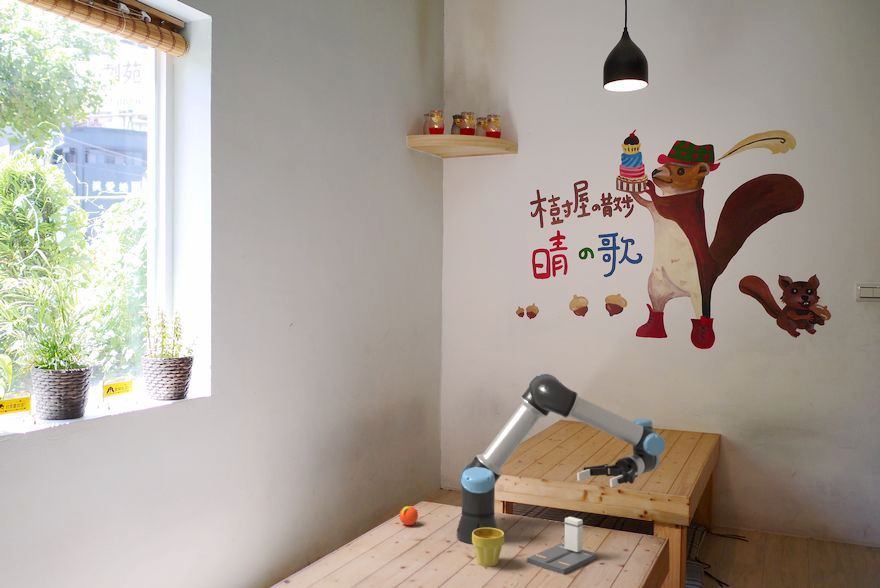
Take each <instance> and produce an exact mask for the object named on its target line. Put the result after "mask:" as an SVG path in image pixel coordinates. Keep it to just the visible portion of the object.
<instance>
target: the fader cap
mask: <svg viewBox="0 0 880 588" xmlns="http://www.w3.org/2000/svg"><path fill="white" fill-rule="evenodd" d="M583 522H584V521H583V519H581V518H578V517H574V516H568V517H567V516H566V517H565V518H564V544H565V549H568V550H572V551H575V552H579V551H581V550H583V526H584V524H583Z"/></svg>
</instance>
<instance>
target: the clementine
mask: <svg viewBox="0 0 880 588" xmlns="http://www.w3.org/2000/svg"><path fill="white" fill-rule="evenodd" d="M418 518H419V513H418V510H417V509H416V508H415V507H414V506H412V505H406V506H404V507H403V508H402V509H401V510H400V511H399V520H400V522H401V523H402V524H403V525H405V526H412V525H414V524H415V523H416V522H417V521H418Z"/></svg>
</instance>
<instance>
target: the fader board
mask: <svg viewBox="0 0 880 588" xmlns="http://www.w3.org/2000/svg"><path fill="white" fill-rule="evenodd" d="M597 556H598V555H597V553H596V552H592V551H590V550H589V551H588V550H585V549H582V550H581V551H579V552H575V551H572V550H568V549H565V543H562V542H560V543H558V544H556V545H554V546H552V547H549V548H547V549H544V550H542V551H540V552H538V553H535V554H533V555H530V556H528V557H527V558H526V559H527V560H526V563H527V564H531V565H535V566H537V567H540V568H543V569H547V570H548V571H553V572H556V573H559V574H561V575H565V574H567V573H569V572H572V571H573V570H575V569H578V568H580V567H581V566H584V565H586V564H588V563H589V562H592V561H594V560H596V559H597Z"/></svg>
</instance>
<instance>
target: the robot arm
mask: <svg viewBox="0 0 880 588" xmlns="http://www.w3.org/2000/svg"><path fill="white" fill-rule="evenodd" d="M520 399H521V404H520V405H519V406H518V407H517V409H515V411H514V413H513V414H512V415H511V417H510V418H509V419H508V420H507V422H506V423H505V424H504V426H503V427H502V428H501V430H500V431H499V432H498V434H496V436H495V437H494V438H493V440H492V441H491V442H490V444H489V445H488V446H487V448H486V449H485V450H484V452H483V453H480V454H476V455H475V456H474V458H473V459H472V460H471V462H469V463H468V464H466V465H465V466H464V468H463V469H462V471H461V474H460V485H461V486H460V487H461V515H460V519H459V522H458V525H457V527H456V538H457V540H459V541H461V542H463V543H466V544H471V545H472V544H473V543H472V532H473V531H474V530H475V529H479V528H496V529H499V528H498V524H497V519H496V515H495V500H496V499H495V493H496V492H495V489H496V487H495V486H496V482H497V481H498V480H499V479H500V477H501V476H502V468H503V467H504V466H505V464H506V463H507V462H508V460H509V459H510V458H511V456H512V454H514V452H515V451H516V450H517V448H518V447H519V446H520V445H521V444H522V442H523V440H524V439H525V438H526V436H528V434H529V433H530V432H531V430H532V429H533V428H534V426H535V425H536V423H537V422H538V421H539V419H541V418H545V417H547V416H548V415H549V414H550V413H554V414H557V415H558V416H559V415H560V416H562V417H564V418H565V419H566V418H569V417H571V418H573V419H575V420H578V421H579V422H582V423H584V424H586V425H588V426H590V427H593V428H595V429H596V430H599V431H601V432H603V433H605V434H607V435H610V436H611V437H614V438H616V439H619V440H621V441H623V442H626V444H629V445H631V446H632V454H629V455H627V456H624V457H622V458H620V459H618V460H616V462H615V463H614V464H611V465H608V464H607V463H604V464H599V465H593V466H585V467H582V468H583V469H582V471H579V472H577V473H576V477H577V479H576V480H577V481H578V482H582V481H583V480H586V479H589V478H591V477H592V476H593V477H594V476H606V477H612V478H609V486H610V488H615V487H617V486H619V485H622V484H628V483H629V484H634V481H635V480H636V478H637V477H638V476H640V475H642V474H646V473H647V472H648V473H649V472H652V471H653V470H655V469H656V468H658V467H659V465H660V463H661V461H660V456H659V455H661V454H663V452H665V449H666V441H665V439H664V438H663V436H662V435H661V434H659V433H657V432H656V431H655V430H654V425H653V421H652V420H651V419H648V418H635V419H633V420H629V419H627V418H626V417H623V416H621V415H618V414H617V413H615V412H612V411H610V410H608V409H605V407H604V408H603V407H602V406H600V405H597V404H595V403H593V402H591V401H588V400H587V399H584V398H583V397H580V396H579V394H578V393H577V392H576V391H573V390H571V389H570V388H568V387H567V386H565V385H564V384H563V383H562V382H561V381H559V379H557V377H555V376H554V375H552V374H550V373H541V374H537V375H536V376H534V377H533V378H532V379H531V380H530V383H529V384H528V388H526V391H524V393H523V394H522V395H521V397H520Z"/></svg>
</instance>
